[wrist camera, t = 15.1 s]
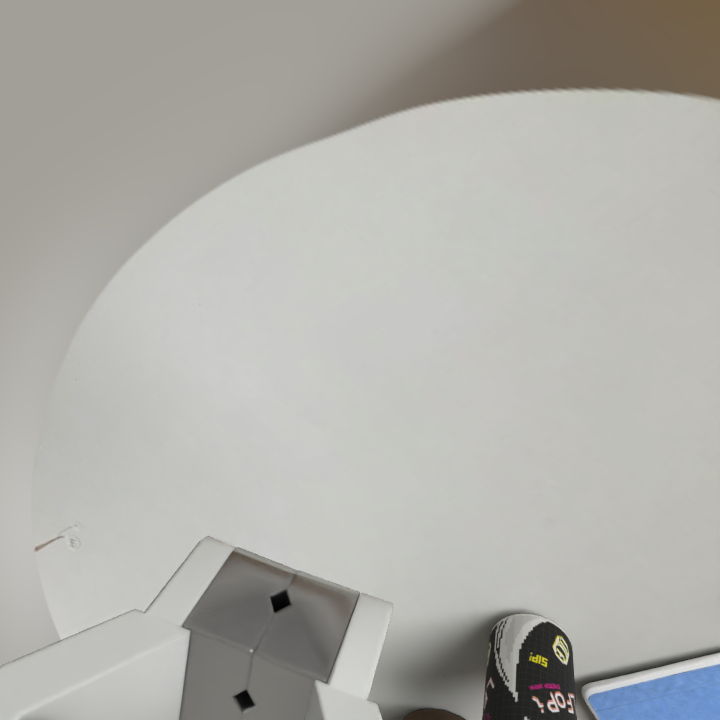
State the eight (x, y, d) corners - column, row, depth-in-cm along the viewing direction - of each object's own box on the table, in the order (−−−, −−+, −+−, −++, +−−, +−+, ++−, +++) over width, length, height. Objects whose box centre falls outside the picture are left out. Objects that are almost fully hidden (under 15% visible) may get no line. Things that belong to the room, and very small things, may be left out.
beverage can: (490, 601, 45) (475, 758, 34) (574, 611, 43) (586, 779, 32) (489, 660, 47) (476, 827, 36) (570, 672, 45) (580, 849, 35)
